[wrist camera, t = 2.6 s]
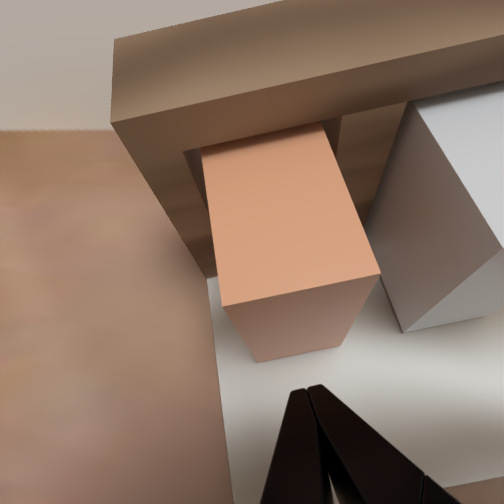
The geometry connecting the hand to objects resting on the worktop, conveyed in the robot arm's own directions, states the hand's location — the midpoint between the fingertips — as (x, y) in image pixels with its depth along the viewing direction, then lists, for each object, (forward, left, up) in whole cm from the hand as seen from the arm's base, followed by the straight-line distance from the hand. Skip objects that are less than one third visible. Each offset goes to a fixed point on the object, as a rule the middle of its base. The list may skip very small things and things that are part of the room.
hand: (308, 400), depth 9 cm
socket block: (+4, -4, -8) cm, 9 cm away
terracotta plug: (+5, 0, -7) cm, 9 cm away
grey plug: (+5, -7, -7) cm, 11 cm away
